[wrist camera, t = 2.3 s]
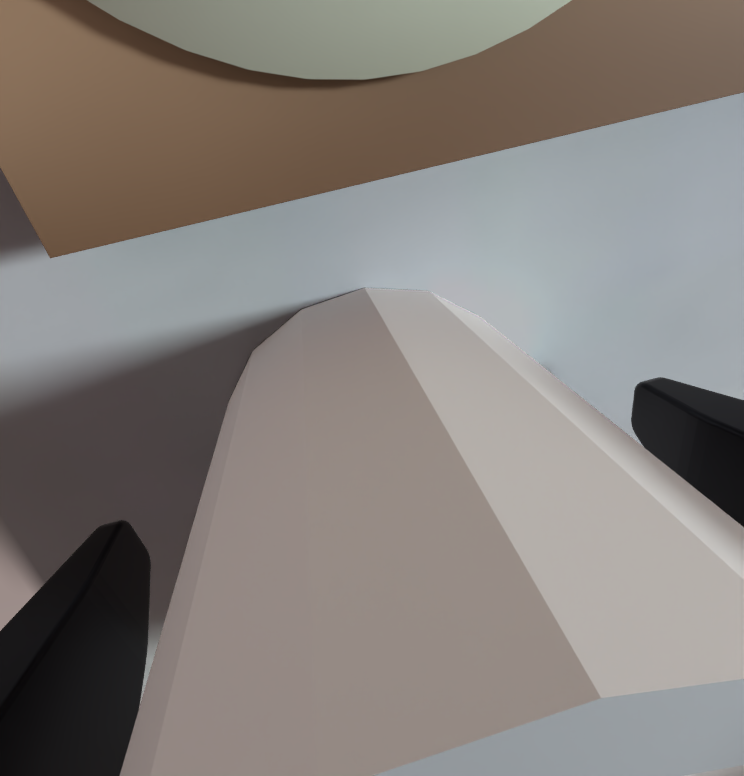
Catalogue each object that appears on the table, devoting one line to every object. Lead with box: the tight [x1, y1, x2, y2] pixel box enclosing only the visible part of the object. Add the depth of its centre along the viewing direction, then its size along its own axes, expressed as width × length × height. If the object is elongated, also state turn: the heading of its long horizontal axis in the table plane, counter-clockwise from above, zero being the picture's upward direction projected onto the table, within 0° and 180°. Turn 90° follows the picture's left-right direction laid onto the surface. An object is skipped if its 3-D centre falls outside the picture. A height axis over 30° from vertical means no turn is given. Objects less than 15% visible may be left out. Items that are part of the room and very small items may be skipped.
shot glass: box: [120, 288, 744, 776], centre depth 7 cm, size 7×7×7 cm
